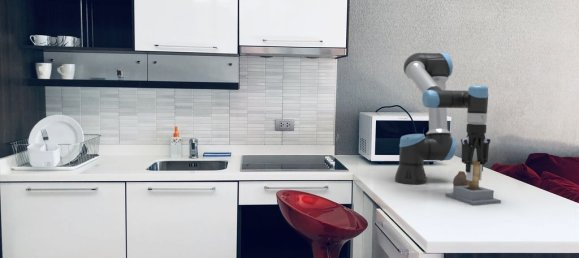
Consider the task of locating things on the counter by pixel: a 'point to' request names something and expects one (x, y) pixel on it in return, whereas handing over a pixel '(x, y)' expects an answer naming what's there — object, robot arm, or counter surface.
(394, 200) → the counter surface
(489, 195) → the socket
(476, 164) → the peg
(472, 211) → the counter surface
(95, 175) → the counter surface
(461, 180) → the vase
